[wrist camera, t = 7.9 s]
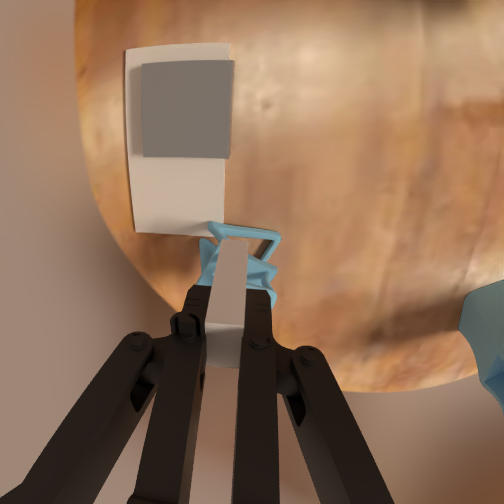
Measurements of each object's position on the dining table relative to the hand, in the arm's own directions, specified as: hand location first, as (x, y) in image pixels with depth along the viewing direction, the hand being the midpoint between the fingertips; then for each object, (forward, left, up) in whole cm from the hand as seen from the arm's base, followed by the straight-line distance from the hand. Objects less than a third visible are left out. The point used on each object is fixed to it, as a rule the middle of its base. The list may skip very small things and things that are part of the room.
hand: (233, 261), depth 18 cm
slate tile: (-7, -2, -16) cm, 18 cm away
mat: (-3, -8, -18) cm, 19 cm away
